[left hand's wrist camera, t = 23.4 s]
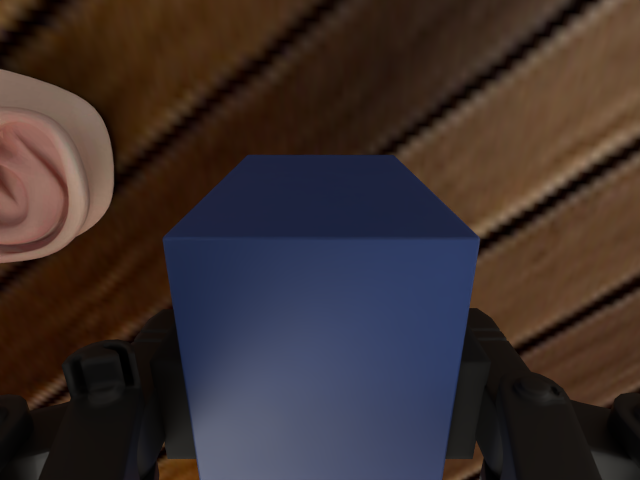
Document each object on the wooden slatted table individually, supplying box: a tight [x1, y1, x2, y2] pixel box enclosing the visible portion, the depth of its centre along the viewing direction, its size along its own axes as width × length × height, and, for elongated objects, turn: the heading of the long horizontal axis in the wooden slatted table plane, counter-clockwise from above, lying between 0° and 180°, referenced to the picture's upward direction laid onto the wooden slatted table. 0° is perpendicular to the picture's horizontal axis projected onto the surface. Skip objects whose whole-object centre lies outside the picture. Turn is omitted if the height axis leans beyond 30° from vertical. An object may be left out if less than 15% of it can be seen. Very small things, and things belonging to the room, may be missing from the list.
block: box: [163, 155, 480, 480], centre depth 12 cm, size 8×6×9 cm, turn 0°
